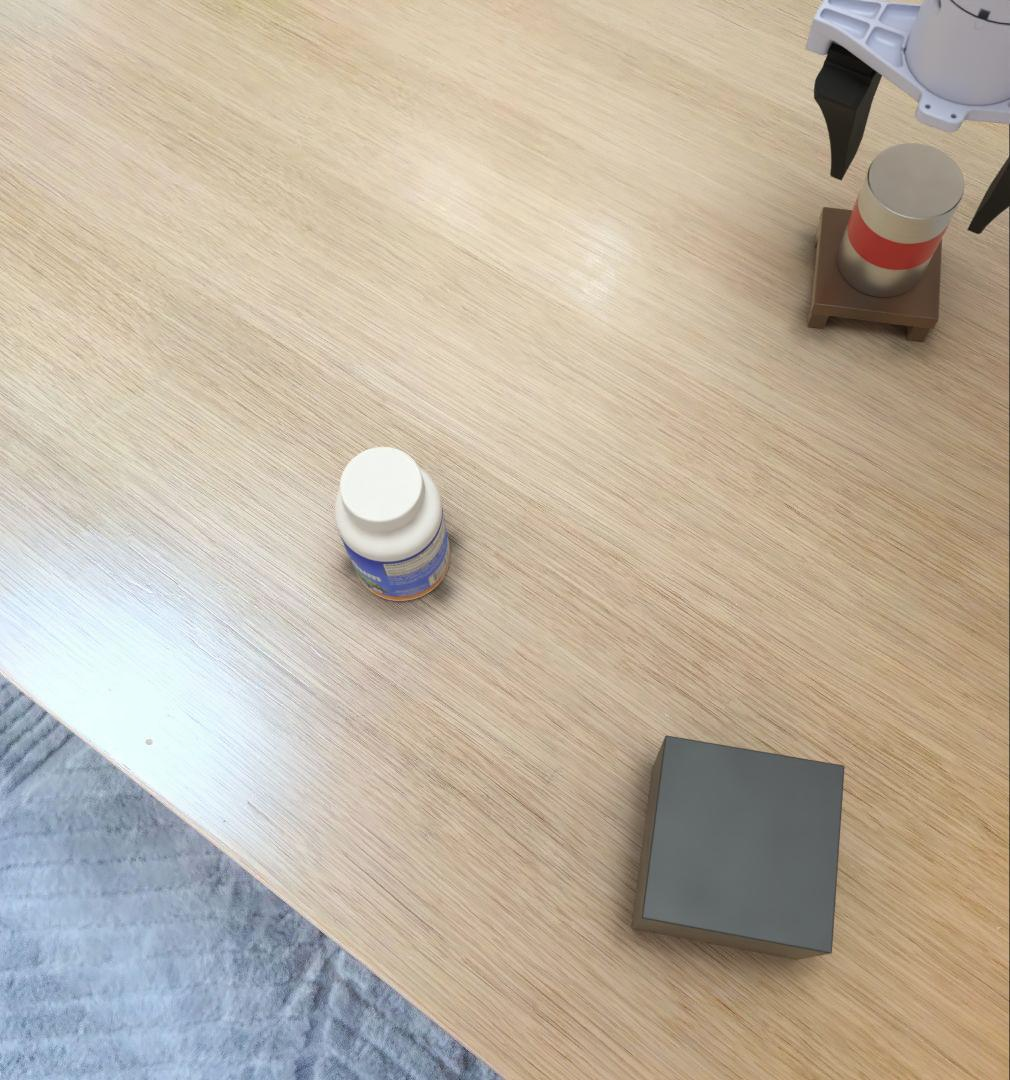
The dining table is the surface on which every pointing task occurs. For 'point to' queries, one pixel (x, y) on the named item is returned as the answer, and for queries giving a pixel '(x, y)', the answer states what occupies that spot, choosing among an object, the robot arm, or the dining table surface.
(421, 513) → the pill bottle
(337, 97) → the dining table surface
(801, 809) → the square coaster
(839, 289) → the stool
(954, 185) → the can
